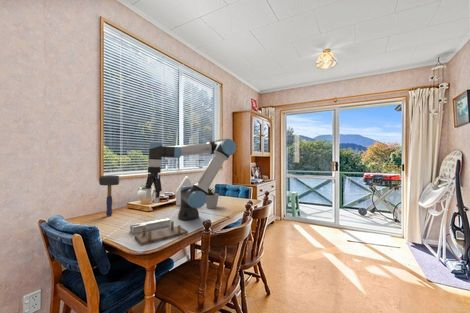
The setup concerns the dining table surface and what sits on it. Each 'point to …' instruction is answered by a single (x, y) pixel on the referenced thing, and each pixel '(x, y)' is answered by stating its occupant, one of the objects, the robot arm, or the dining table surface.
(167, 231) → the tool rack
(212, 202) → the potted plant
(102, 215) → the dining table surface
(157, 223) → the grey long bar
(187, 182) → the milk carton
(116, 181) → the rubber mallet
